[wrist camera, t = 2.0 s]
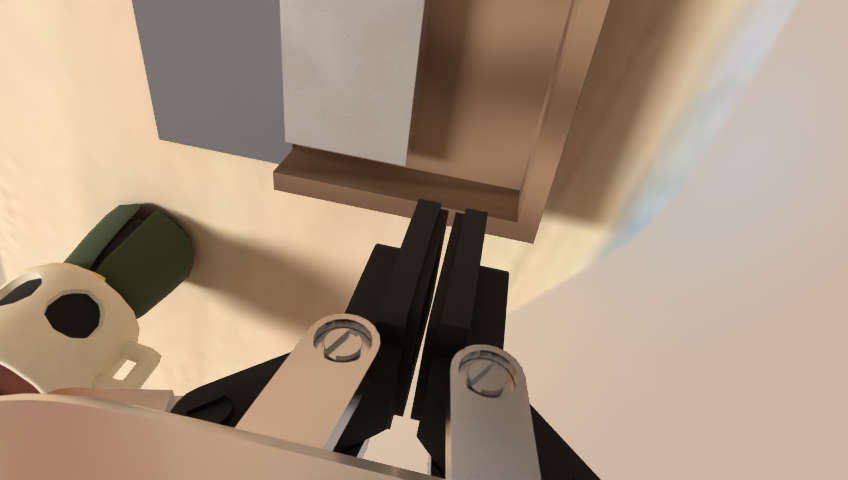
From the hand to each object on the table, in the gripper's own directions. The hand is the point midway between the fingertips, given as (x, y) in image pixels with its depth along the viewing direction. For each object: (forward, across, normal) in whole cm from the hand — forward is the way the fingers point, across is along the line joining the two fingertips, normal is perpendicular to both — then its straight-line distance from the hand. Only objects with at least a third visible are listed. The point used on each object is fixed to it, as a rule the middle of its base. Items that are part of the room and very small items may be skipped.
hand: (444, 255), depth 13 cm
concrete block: (+14, +6, -1) cm, 15 cm away
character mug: (+15, +20, +15) cm, 29 cm away
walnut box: (+15, +3, -1) cm, 15 cm away
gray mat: (+15, +14, -1) cm, 20 cm away
